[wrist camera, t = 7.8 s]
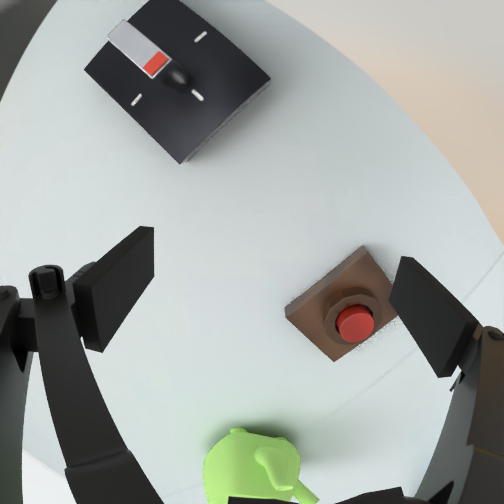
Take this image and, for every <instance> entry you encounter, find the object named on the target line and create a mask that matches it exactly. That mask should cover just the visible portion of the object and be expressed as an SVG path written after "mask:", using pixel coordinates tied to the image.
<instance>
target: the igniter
mask: <svg viewBox="0 0 504 504" xmlns="http://www.w3.org/2000/svg"><path fill="white" fill-rule="evenodd" d="M392 287H393V285H392V283H391V282H390V281H389V279H388V278H387V276H386V275H385V274H384V272H383V271H382V270H381V268H380V267H379V266H378V264H377V263H376V262H375V260H374V259H373V258H372V256H371V255H370V254H369V252H368V251H367V250H366V249H365V248H364V247H363V246H361V247H360V248H359V249H358V250H356V251H355V252H354V253H353V254H352V255H350V256H349V257H348V258H347V259H346V260H344V261H343V262H342V263H341V264H339V265H338V266H337V267H336V268H335V269H333V270H332V271H331V272H330V273H328V274H327V275H326V276H325V277H323V278H322V279H321V280H320V281H318V282H317V283H316V284H315V285H313V286H312V287H311V288H310V289H308V290H307V291H306V292H305V293H303V294H302V295H301V296H299V297H298V298H297V299H296V300H294V301H293V302H292V303H290V304H289V305H288V306H286V307H285V316H286V318H287V319H288V320H289V321H290V322H291V323H292V324H293V325H294V326H295V327H296V328H297V329H298V330H299V331H301V332H302V333H303V334H304V335H305V336H306V337H307V338H308V339H309V340H310V341H311V342H312V343H314V344H315V345H316V346H317V347H318V348H319V349H320V350H321V351H322V352H323V353H324V354H325V355H327V356H328V357H329V358H330V359H331V360H332V361H333V362H335V361H336V360H338V359H339V358H341V357H342V356H344V355H345V354H347V353H348V352H349V351H351V350H352V349H354V348H355V347H357V346H358V345H359V344H361V343H362V342H364V341H365V340H367V339H368V338H370V337H371V336H372V335H374V334H375V333H376V332H377V331H378V330H380V329H381V328H382V327H384V326H385V325H386V324H388V323H389V322H390V321H391V320H393V319H394V318H395V317H396V316H398V314H397V313H396V311H395V310H394V308H393V307H392V305H391V304H390V303H389V301H388V299H389V296H390V293H391V290H392ZM353 305H360V306H363V307H365V308H367V309H368V311H369V313H370V314H371V316H372V318H373V320H374V328H373V330H372V332H371V334H370V335H369V336H368V337H367V338H365V339H364V340H361V341H359V342H348V341H346V340H344V339H343V338H342V336H341V334H340V332H339V329H338V326H337V320H338V317H339V315H340V313H341V312H342V311H343V310H344V309H346V308H348V307H350V306H353Z"/></svg>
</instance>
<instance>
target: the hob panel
mask: <svg viewBox="0 0 504 504" xmlns="http://www.w3.org/2000/svg"><path fill="white" fill-rule="evenodd" d="M127 22H128V23H130V24H131V25H132V26H134V27H135V28H136V29H138V30H139V31H140V32H142V33H143V34H144V35H145V36H147V37H148V38H149V39H150V40H152V41H153V42H154V43H155V44H157V45H158V46H159V47H160V48H161V49H162V50H164V51H165V52H166V53H167V54H168V55H169V56H171V57H172V58H173V59H174V60H175V61H176V62H177V63H179V64H180V65H181V66H182V67H183V68H184V69H185V70H186V71H188V72H189V73H190V74H191V75H192V76H193V77H194V78H195V80H193V81H192V82H191V83H190V84H189V85H188V86H187V87H186V88H185V89H184V90H183V91H182V92H181V93H179V92H177V91H175V90H173V89H171V88H169V87H167V86H165V85H163V84H161V83H159V82H157V81H155V80H153V79H152V78H150V77H149V76H148V75H147V74H146V73H145V72H144V71H143V70H142V69H141V68H139V67H138V66H137V65H136V64H135V63H134V62H133V61H132V60H131V59H129V58H128V57H127V56H126V55H125V54H124V53H123V52H121V51H120V50H119V49H118V48H117V47H116V46H115V45H113V44H112V43H111V42H110V41H108V42H107V43H106V44H105V45H104V46H103V47H102V49H101V50H100V51H99V52H98V53H97V54H96V55H95V57H94V58H93V59H92V60H91V61H90V63H89V64H88V65H87V66H86V68H85V69H84V70H85V71H86V72H87V73H88V74H89V75H90V76H91V77H92V78H93V79H94V80H95V81H96V82H97V83H98V84H99V85H100V86H101V87H102V88H103V89H104V90H105V91H106V92H107V93H108V94H109V95H110V96H111V97H112V98H113V99H114V100H115V101H116V102H117V103H118V104H119V105H120V106H121V107H122V108H123V109H124V110H125V111H126V112H127V113H128V114H129V115H130V116H131V117H132V118H133V119H134V120H135V121H136V122H137V123H138V124H139V125H140V126H141V127H143V128H144V129H145V130H146V131H147V132H148V133H149V134H150V135H151V136H152V137H153V138H154V139H155V140H156V141H157V142H158V143H159V144H160V145H161V146H162V147H163V148H164V149H165V150H166V151H167V152H168V153H169V154H170V155H171V156H172V157H173V158H174V159H175V160H176V161H177V162H178V163H179V164H182V163H185V162H187V161H188V160H189V159H190V158H191V157H192V156H193V155H194V154H195V153H196V152H197V151H198V150H199V149H200V148H201V147H202V146H203V145H204V144H205V143H206V142H207V141H208V140H209V139H210V138H211V137H212V136H213V135H214V134H215V133H216V132H218V131H219V130H220V129H221V128H222V127H223V126H224V125H225V124H226V123H227V122H228V121H229V120H230V119H231V118H232V117H234V116H235V115H236V114H237V113H238V112H239V111H240V110H241V109H242V108H243V107H245V106H246V105H247V104H248V103H249V102H250V101H251V100H252V99H254V98H255V97H256V96H257V95H258V94H259V93H260V92H262V91H263V90H264V89H265V88H266V87H267V86H269V85H270V82H271V78H270V77H269V76H268V75H267V74H266V73H265V72H264V71H263V70H262V69H261V68H259V67H258V66H257V65H256V64H255V63H254V62H253V61H252V60H251V59H250V58H249V57H248V56H246V55H245V54H244V53H243V52H242V51H241V50H240V49H239V48H237V47H236V46H235V45H234V44H233V43H232V42H231V41H229V40H228V39H227V38H226V37H225V36H224V35H222V34H221V33H220V32H219V31H218V30H216V29H215V28H214V27H213V26H211V25H210V24H209V23H208V22H206V21H205V20H204V19H203V18H201V17H200V16H199V15H198V14H196V13H195V12H194V11H192V10H191V9H190V8H188V7H187V6H186V5H184V4H183V3H182V2H180V1H179V0H149V1H148V2H147V3H146V4H145V5H144V6H143V7H142V8H140V9H139V10H138V11H137V12H136V13H135V14H134V15H133V16H132V17H131V18H130V19H129V20H128V21H127Z"/></svg>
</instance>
